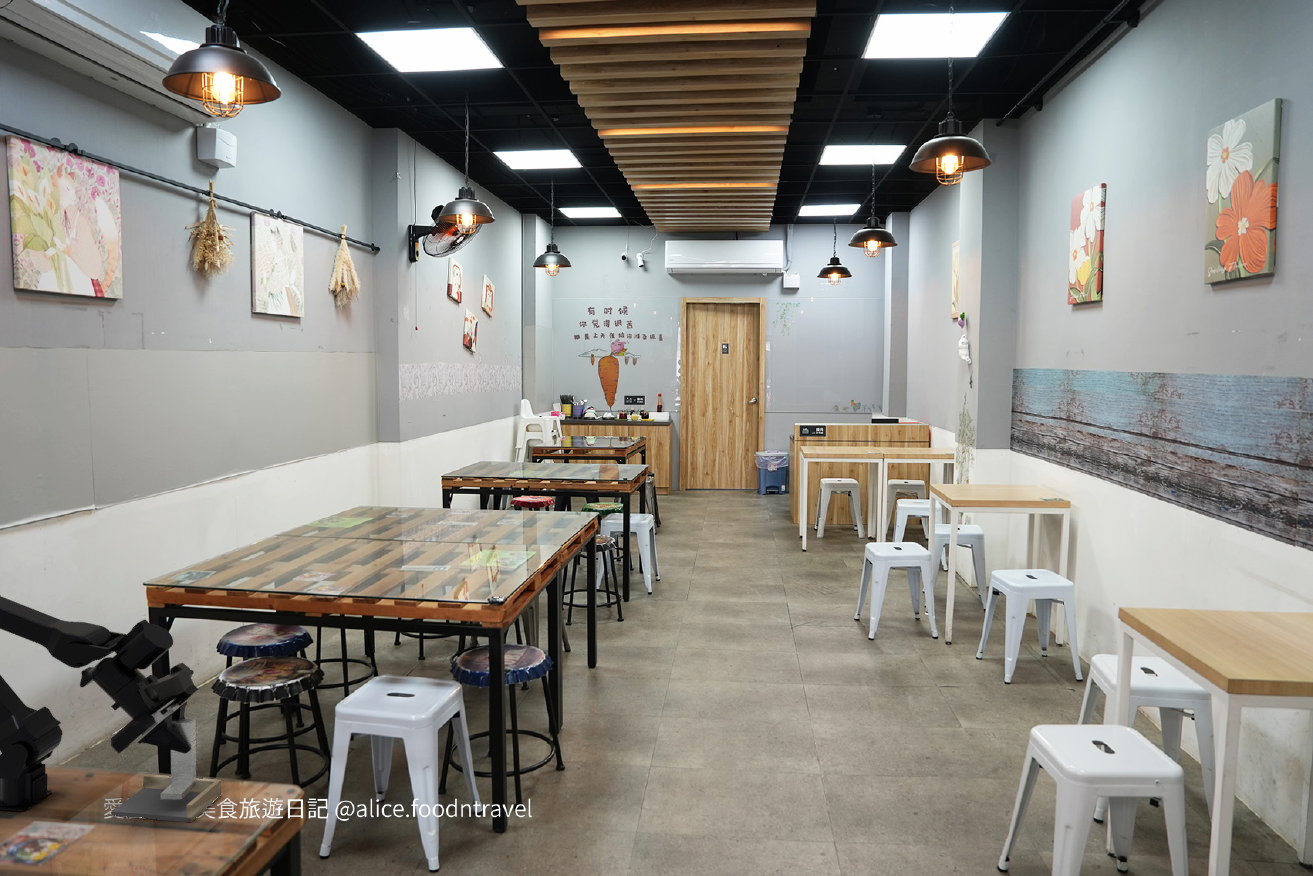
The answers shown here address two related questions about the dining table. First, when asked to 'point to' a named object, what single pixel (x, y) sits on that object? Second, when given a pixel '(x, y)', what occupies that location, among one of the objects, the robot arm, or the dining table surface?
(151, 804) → the charcoal mat
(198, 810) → the wooden corner walls
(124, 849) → the dining table surface
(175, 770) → the aluminium bracket
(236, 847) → the dining table surface
